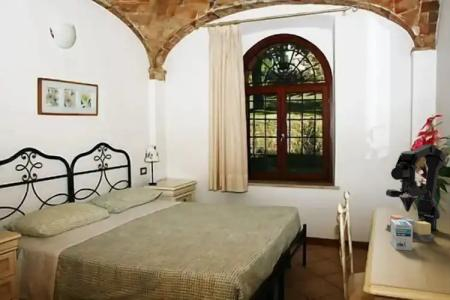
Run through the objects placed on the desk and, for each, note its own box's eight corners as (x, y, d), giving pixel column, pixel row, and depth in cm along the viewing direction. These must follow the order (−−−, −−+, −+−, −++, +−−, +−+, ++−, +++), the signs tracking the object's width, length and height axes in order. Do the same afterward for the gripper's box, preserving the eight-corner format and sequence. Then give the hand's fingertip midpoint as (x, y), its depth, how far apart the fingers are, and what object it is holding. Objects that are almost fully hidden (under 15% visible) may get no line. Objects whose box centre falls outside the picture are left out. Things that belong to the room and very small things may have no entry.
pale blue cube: (409, 228, 184) (409, 218, 184) (414, 231, 179) (414, 220, 179) (399, 228, 184) (399, 218, 183) (404, 231, 179) (404, 220, 179)
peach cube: (399, 224, 191) (399, 215, 191) (404, 227, 186) (405, 217, 186) (390, 224, 190) (390, 215, 190) (395, 227, 186) (395, 217, 185)
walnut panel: (409, 229, 193) (409, 224, 193) (434, 241, 172) (434, 235, 172) (385, 229, 193) (385, 224, 193) (407, 241, 172) (407, 235, 172)
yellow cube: (424, 231, 178) (424, 221, 178) (430, 234, 173) (430, 224, 173) (414, 231, 178) (414, 221, 178) (420, 234, 173) (420, 224, 173)
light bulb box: (412, 251, 158) (413, 225, 158) (395, 250, 160) (396, 224, 159) (406, 243, 169) (406, 219, 168) (389, 242, 170) (390, 218, 170)
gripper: (397, 180, 172) (396, 215, 172) (438, 180, 173) (436, 215, 173) (385, 177, 183) (384, 210, 184) (424, 177, 184) (422, 210, 185)
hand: (407, 211), depth 181 cm, fingers closed
